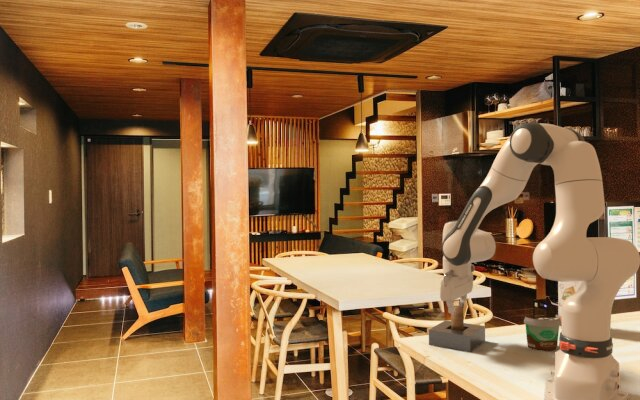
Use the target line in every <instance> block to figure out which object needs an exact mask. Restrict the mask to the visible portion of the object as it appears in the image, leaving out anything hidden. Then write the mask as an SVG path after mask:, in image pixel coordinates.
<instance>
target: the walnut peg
mask: <svg viewBox="0 0 640 400" xmlns="http://www.w3.org/2000/svg"><path fill="white" fill-rule="evenodd" d="M454 308H455V313H453V314H451V313H450V321H451V330H457V331H464V323H465V322H464V318H465V317H464V308H463V307H462V306H459V305H454Z"/></svg>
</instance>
